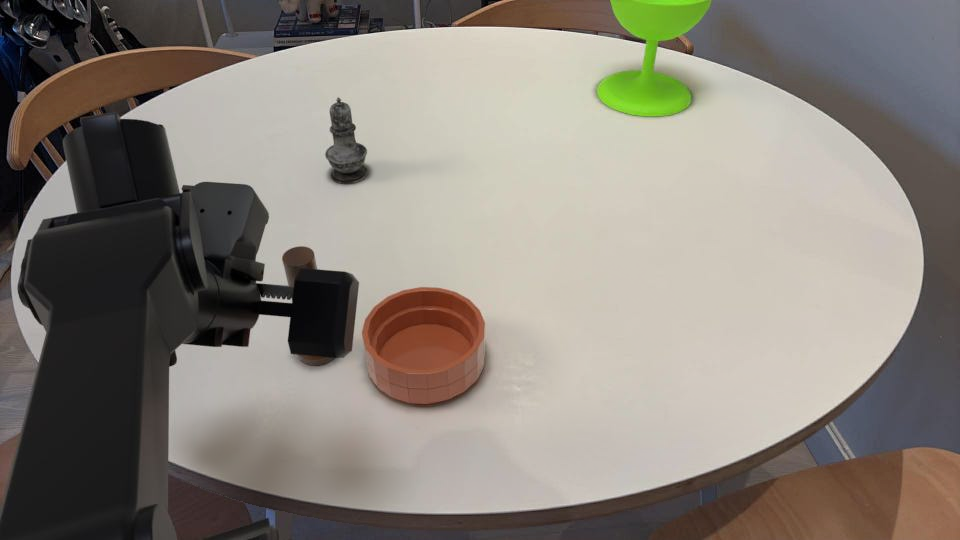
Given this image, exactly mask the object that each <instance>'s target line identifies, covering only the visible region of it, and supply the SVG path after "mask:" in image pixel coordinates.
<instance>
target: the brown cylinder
mask: <svg viewBox="0 0 960 540" xmlns="http://www.w3.org/2000/svg"><path fill="white" fill-rule="evenodd" d="M281 261H282V266H283V270H284V273H285V277H286V282H287V286H294V281H295V278H296V276H297V274H298V272H299V270H300V268H306V269H318V265H317V260H316V255H315V252H314V250H313V249H312V248H310V247H308V246H299V245H298V246H294V247H290V248H288V249H287V250H286V251H285V252H284V253H283V254H282V257H281ZM290 300H292V297H291V299H290ZM297 356H298V359H299V360H300V361H301V362H302V363H304V364H305V365H308V366H315V367H316V366H317V367H318V366H322V365H323V366H324V365H326V364H328V363H330V362H332V361H333V360H334V359H335V358H330V357H319V356H308V355H298V354H297Z"/></svg>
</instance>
